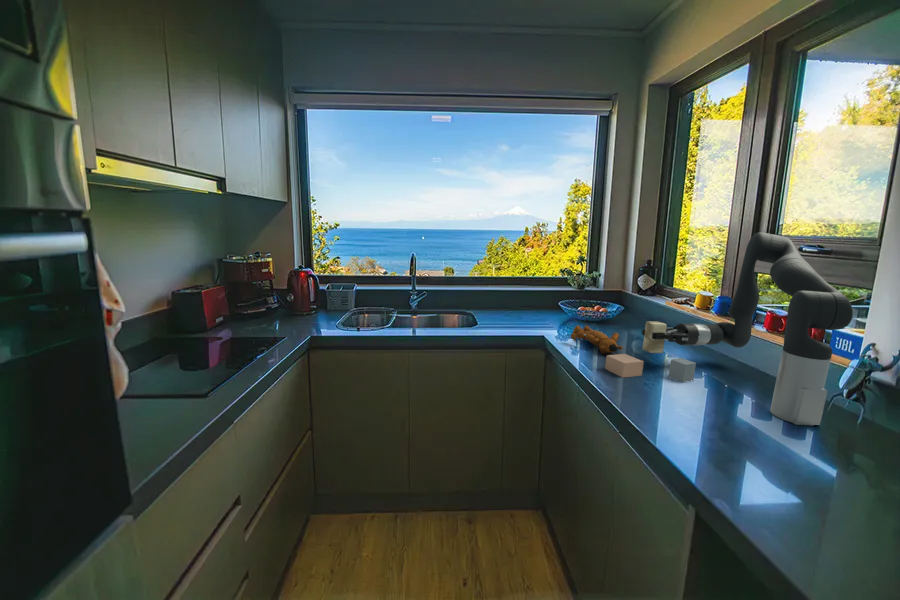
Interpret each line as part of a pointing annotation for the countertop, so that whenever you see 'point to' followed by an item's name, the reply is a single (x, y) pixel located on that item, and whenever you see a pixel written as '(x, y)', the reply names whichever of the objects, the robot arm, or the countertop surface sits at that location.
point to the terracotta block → (624, 365)
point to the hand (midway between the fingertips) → (647, 334)
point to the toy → (597, 339)
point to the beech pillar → (650, 343)
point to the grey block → (682, 370)
